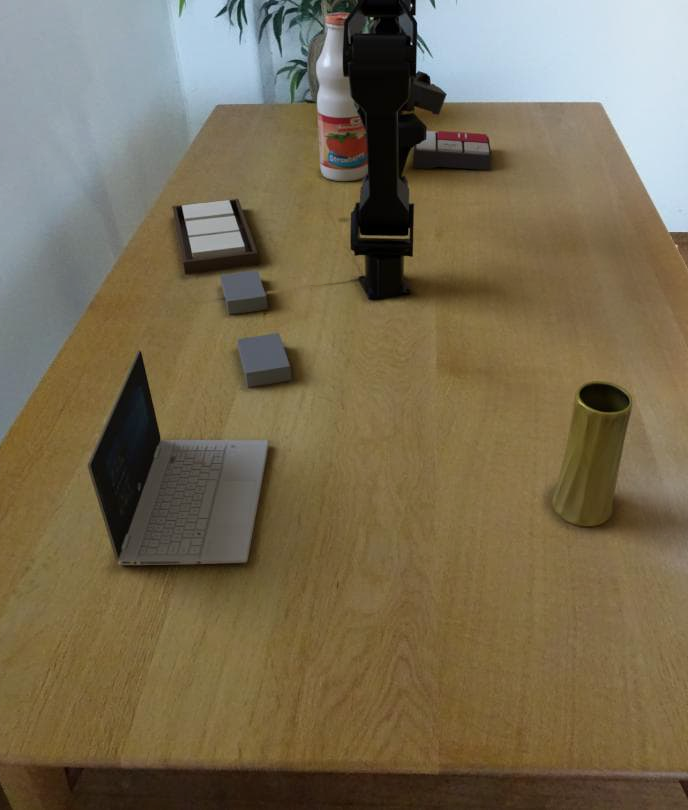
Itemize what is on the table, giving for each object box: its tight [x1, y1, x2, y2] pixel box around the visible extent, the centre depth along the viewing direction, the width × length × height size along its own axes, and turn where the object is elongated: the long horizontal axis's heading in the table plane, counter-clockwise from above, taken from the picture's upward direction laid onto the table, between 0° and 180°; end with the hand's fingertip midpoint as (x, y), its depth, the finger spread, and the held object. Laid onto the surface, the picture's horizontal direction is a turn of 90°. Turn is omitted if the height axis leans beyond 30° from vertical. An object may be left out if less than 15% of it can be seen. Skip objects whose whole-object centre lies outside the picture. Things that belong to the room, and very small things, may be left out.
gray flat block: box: [236, 332, 292, 388], centre depth 103 cm, size 8×6×2 cm
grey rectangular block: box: [219, 269, 268, 316], centre depth 117 cm, size 8×6×2 cm
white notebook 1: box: [181, 199, 234, 229], centre depth 136 cm, size 8×6×2 cm
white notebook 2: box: [186, 216, 239, 248], centre depth 131 cm, size 8×6×2 cm
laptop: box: [87, 349, 270, 566], centre depth 80 cm, size 18×12×13 cm
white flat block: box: [189, 231, 246, 259], centre depth 126 cm, size 8×6×2 cm
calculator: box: [412, 130, 492, 171], centre depth 160 cm, size 11×4×15 cm
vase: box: [552, 380, 634, 527], centre depth 79 cm, size 6×6×14 cm
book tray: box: [172, 198, 260, 275], centre depth 131 cm, size 21×11×2 cm, turn 17°
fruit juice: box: [316, 11, 368, 182], centre depth 147 cm, size 9×9×28 cm
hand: (388, 169), depth 125 cm, fingers open, 9 cm apart
